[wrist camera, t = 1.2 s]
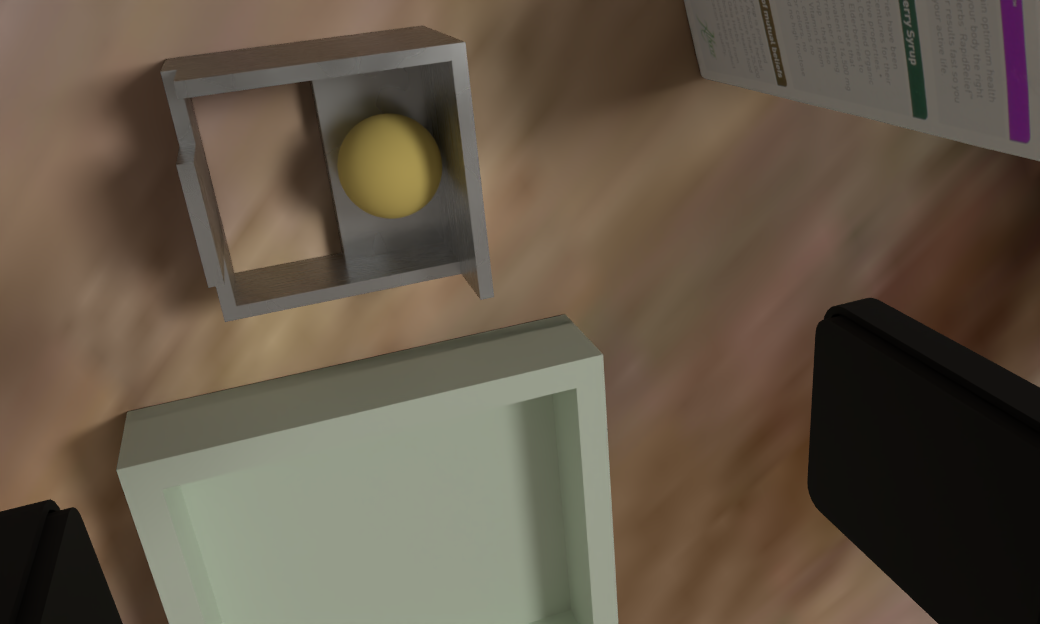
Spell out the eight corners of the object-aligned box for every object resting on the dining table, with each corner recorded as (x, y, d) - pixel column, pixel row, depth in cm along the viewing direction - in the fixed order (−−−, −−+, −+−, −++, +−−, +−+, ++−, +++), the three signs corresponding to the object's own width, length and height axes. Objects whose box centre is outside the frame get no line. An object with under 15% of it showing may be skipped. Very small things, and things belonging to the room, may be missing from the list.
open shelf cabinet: (166, 59, 24) (155, 84, 20) (423, 25, 26) (465, 41, 22) (224, 287, 27) (225, 354, 23) (451, 243, 29) (493, 296, 25)
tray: (127, 411, 28) (116, 470, 25) (564, 314, 31) (603, 354, 28) (228, 721, 33) (229, 799, 30) (587, 608, 37) (620, 667, 34)
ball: (319, 115, 25) (341, 132, 23) (417, 98, 26) (449, 113, 24) (337, 213, 26) (360, 240, 24) (430, 194, 27) (462, 218, 25)
